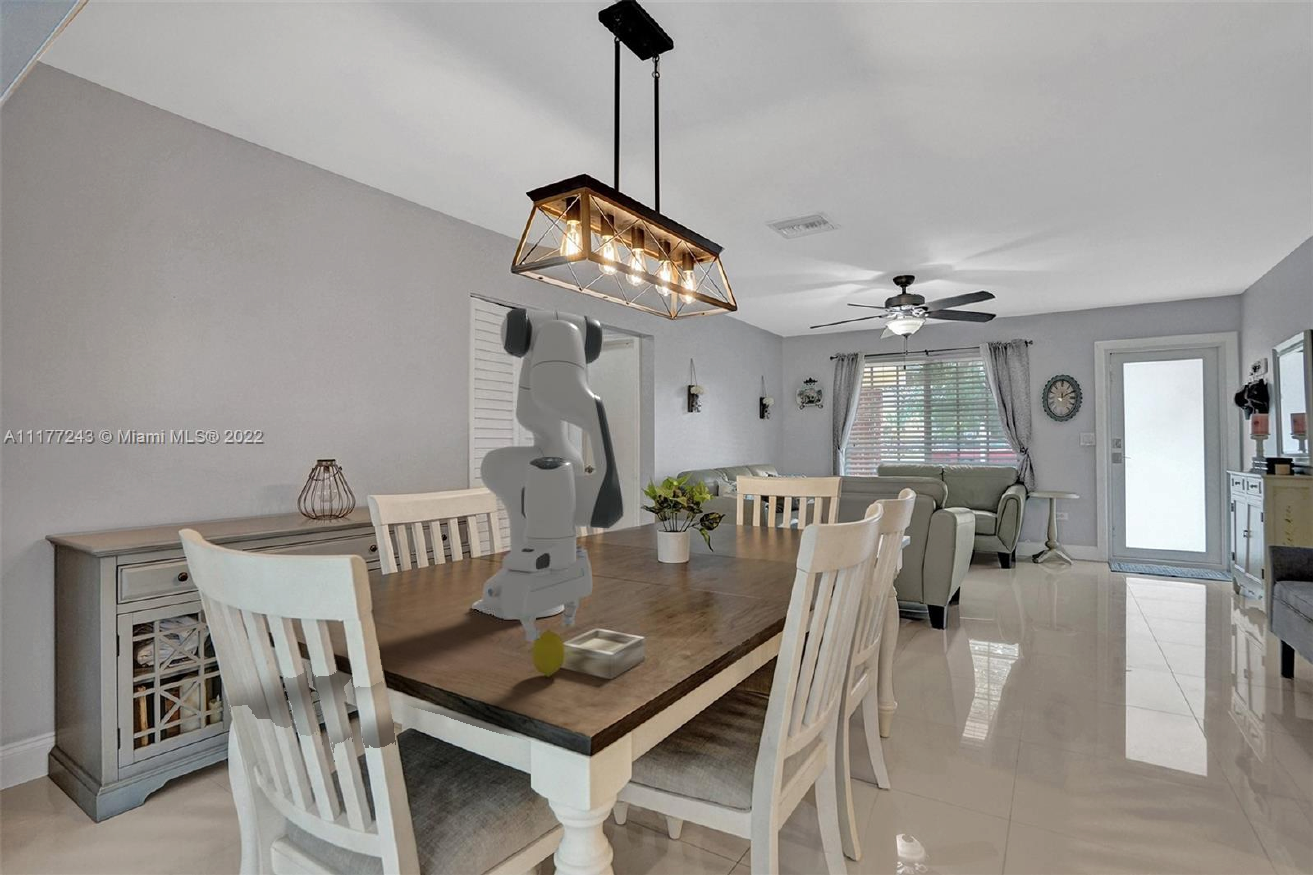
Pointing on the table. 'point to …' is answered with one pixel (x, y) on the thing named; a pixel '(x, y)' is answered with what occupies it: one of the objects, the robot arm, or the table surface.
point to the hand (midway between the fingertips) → (551, 632)
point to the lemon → (548, 653)
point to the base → (603, 653)
